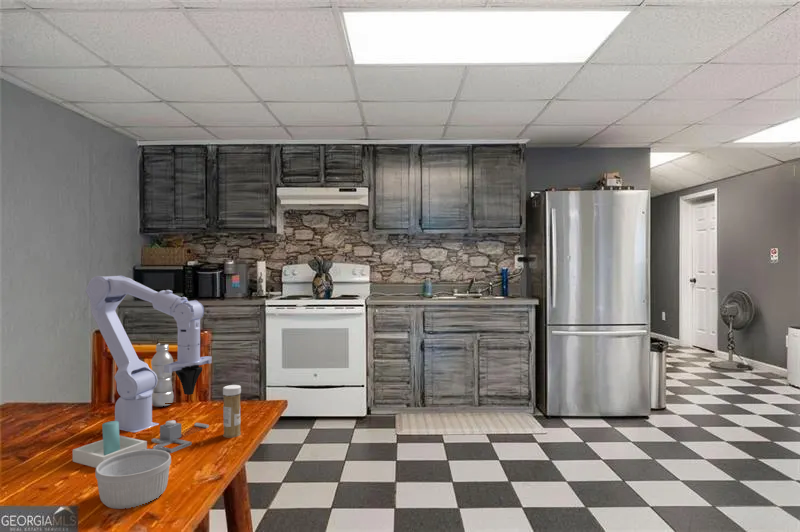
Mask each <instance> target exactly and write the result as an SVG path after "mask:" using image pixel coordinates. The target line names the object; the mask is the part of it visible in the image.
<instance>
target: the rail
mask: <svg viewBox="0 0 800 532" xmlns="http://www.w3.org/2000/svg"><path fill="white" fill-rule="evenodd" d="M209 427H210V425H209V424H207V423H203V422H202V423H201V422H195V423H194V426H191V427H188V428H186V429H184V430H183V432H185V433H184V434H181V437H183V438H185V437H187V436H188V430H189V432H190V434H191V435H192V434H193V433H196V432H199V431H201V430H205V429H208V428H209ZM194 430H196V431H194ZM181 437H180V438H178V439H180V440H181ZM163 442H166V441H165V440H161V439H160V438H155V437H154V438H151V443H155V444H160V443H163Z"/></svg>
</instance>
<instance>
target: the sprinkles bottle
mask: <svg viewBox="0 0 800 532" xmlns="http://www.w3.org/2000/svg"><path fill="white" fill-rule="evenodd" d="M241 393H242V386H241V385H239V384H230V385H226V386H222V395H223V417H222V418H223V435H222V436H223V437H224V438H228V439H229V438H231V439H232V438H237V437H240V436H241V435H242V432H241V422H242V420H241Z"/></svg>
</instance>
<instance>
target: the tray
mask: <svg viewBox="0 0 800 532" xmlns="http://www.w3.org/2000/svg"><path fill="white" fill-rule="evenodd" d="M119 437H120V450H118V451H116V452H113V453H110V454H107V455H104V449H103V439H101V440H98V441H94V442H92V443H87V444H85V445H82V446H79V447H76V448H73V449H72V462H74V463H77V464H80V465H85V466H87V467H90V468H95V469H96V467H97V466H98V465H99V464H100V463H101V462H103V461H104V460H106V459H108V458H110V457H113V456H116V455H119V454H122V453H126V452H131V451H137V450H142V449H148V441H147V440H143V439H138V438H134V437H128V436H125V435H120V434H119Z"/></svg>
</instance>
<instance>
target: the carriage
mask: <svg viewBox="0 0 800 532" xmlns="http://www.w3.org/2000/svg"><path fill="white" fill-rule="evenodd" d="M181 435H182V423H179V422H177V421H176V420H173V419H172V420H167V421H165V424H161V425H160V426H159V439H161V440H165V441H168V440H171V439H173V438H175V439H179V438H180V439H181V438H182V436H181Z"/></svg>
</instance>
